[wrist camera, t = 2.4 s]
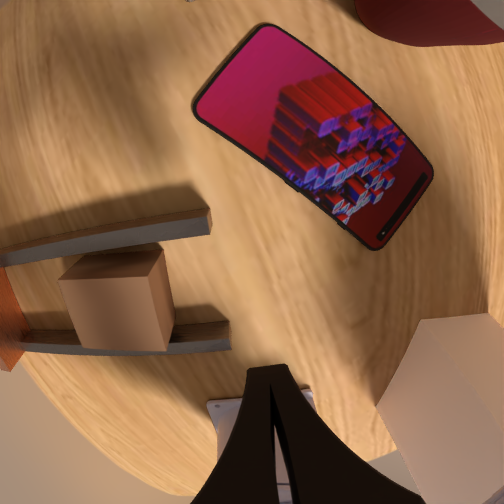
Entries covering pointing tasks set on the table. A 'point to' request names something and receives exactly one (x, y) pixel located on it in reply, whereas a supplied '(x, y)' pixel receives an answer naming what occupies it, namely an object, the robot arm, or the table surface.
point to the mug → (434, 21)
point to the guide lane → (89, 240)
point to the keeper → (120, 301)
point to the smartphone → (316, 133)
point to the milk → (450, 408)
